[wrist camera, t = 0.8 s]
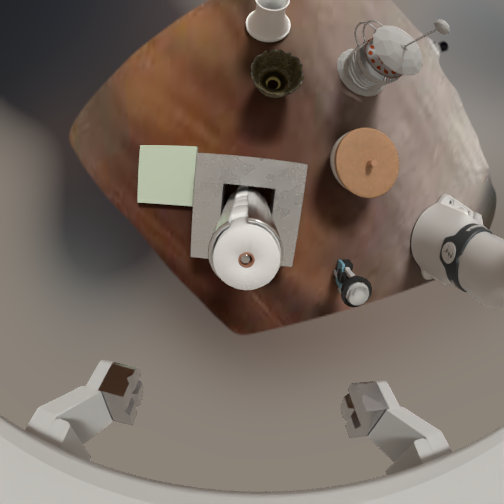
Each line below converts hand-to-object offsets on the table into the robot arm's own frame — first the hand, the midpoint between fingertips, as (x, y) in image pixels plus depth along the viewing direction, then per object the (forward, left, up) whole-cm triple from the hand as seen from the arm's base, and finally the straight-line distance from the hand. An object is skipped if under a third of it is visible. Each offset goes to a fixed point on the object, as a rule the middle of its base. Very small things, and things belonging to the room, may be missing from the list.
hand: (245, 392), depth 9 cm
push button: (-19, +11, -39) cm, 45 cm away
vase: (0, -33, -39) cm, 51 cm away
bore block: (0, 0, -39) cm, 39 cm away
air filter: (0, 0, -39) cm, 39 cm away
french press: (-17, -28, -39) cm, 51 cm away
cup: (-2, -21, -39) cm, 44 cm away
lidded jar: (-17, -10, -39) cm, 44 cm away
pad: (+14, -4, -39) cm, 42 cm away
